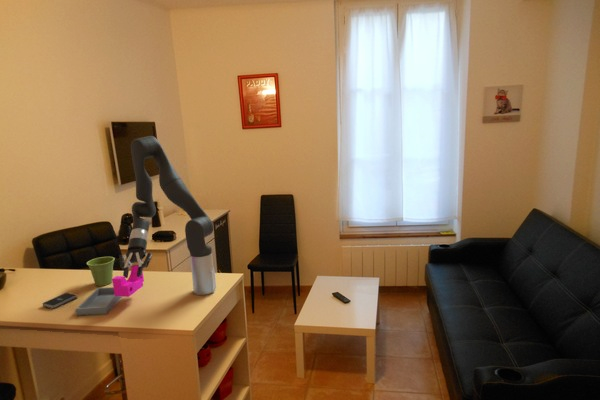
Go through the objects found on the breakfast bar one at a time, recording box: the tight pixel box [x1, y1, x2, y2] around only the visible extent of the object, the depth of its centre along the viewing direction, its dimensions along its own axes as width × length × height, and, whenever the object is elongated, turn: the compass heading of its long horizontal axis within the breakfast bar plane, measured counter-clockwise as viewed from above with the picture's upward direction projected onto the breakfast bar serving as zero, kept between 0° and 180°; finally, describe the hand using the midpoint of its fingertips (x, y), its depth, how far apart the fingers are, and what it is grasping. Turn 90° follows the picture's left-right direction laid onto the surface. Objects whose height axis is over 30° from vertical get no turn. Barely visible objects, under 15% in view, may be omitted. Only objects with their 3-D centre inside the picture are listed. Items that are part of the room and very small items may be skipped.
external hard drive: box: [42, 292, 78, 310], centre depth 167 cm, size 7×11×2 cm, turn 157°
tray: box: [75, 286, 123, 317], centre depth 164 cm, size 12×20×3 cm, turn 3°
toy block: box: [111, 264, 145, 298], centre depth 164 cm, size 15×6×8 cm, turn 170°
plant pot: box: [86, 256, 116, 287], centre depth 185 cm, size 12×12×11 cm
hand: (132, 276), depth 166 cm, fingers closed on toy block, 4 cm apart
